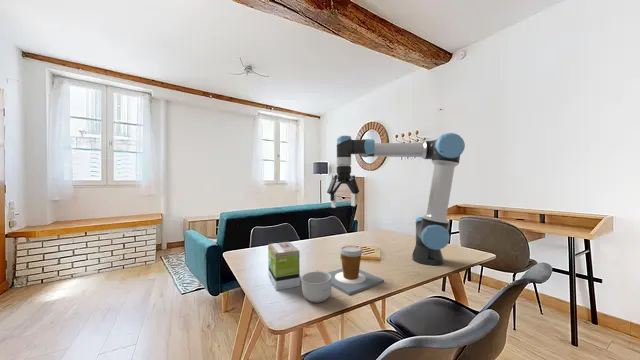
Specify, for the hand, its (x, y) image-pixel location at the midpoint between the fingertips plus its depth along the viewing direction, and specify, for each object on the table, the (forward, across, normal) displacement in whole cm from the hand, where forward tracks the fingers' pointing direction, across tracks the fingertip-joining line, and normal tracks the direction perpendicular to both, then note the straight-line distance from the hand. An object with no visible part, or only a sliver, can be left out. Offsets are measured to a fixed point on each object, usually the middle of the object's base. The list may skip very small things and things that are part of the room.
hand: (343, 206), depth 127 cm
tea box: (+29, +37, +4) cm, 47 cm away
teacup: (+29, +33, +23) cm, 50 cm away
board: (+29, +13, +19) cm, 37 cm away
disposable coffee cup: (+28, +13, +19) cm, 36 cm away
